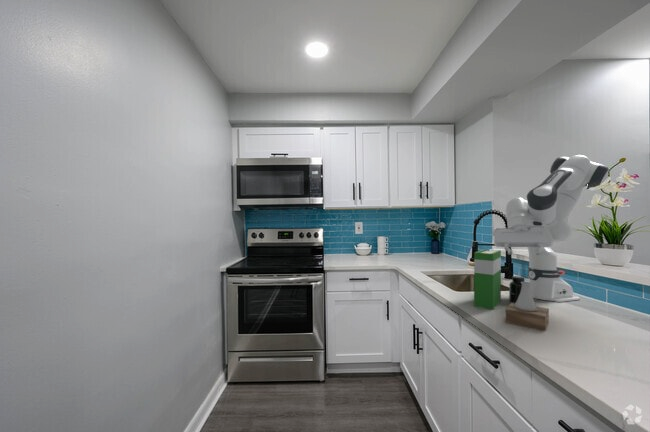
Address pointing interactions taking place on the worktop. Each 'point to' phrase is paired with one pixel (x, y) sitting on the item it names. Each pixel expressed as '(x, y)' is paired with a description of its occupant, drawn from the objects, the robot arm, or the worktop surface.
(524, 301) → the flask
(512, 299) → the supplement bottle
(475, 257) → the hardback book
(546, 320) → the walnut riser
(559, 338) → the worktop surface
